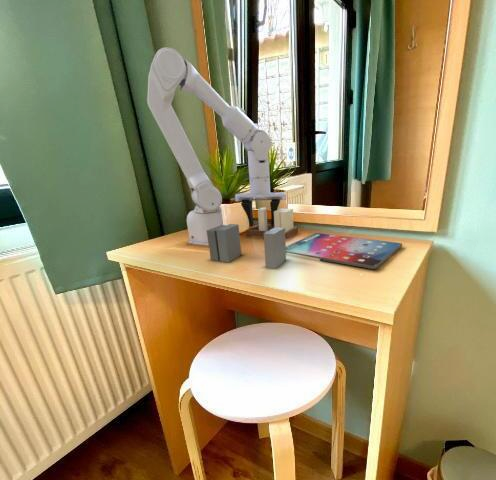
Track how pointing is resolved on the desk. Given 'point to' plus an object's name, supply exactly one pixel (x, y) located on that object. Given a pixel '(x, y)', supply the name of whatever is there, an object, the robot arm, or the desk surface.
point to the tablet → (345, 249)
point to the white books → (284, 219)
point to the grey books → (229, 248)
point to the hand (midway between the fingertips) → (262, 225)
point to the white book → (262, 219)
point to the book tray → (255, 230)
